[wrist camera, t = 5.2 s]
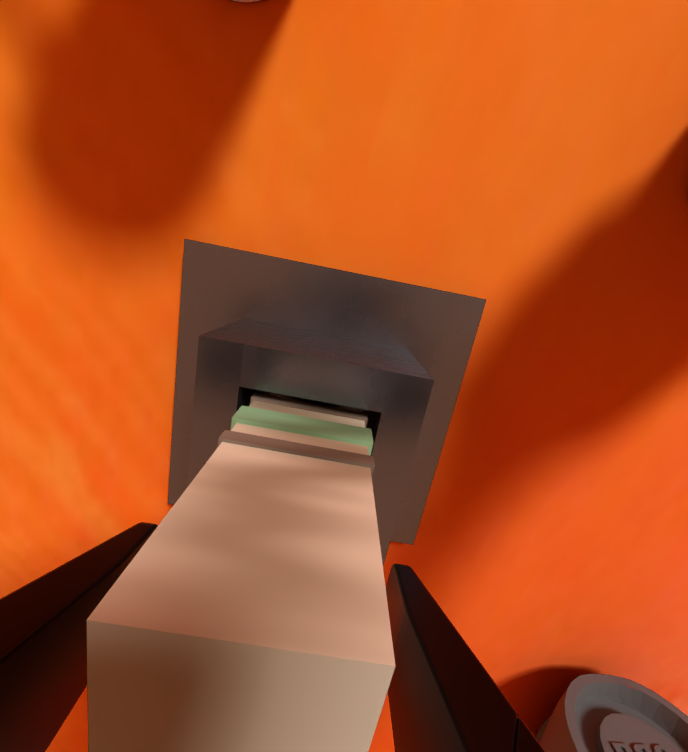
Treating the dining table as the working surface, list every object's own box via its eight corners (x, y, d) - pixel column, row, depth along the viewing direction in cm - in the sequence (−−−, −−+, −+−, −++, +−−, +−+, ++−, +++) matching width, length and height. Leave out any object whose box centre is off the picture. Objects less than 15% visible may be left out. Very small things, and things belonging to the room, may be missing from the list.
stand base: (480, 298, 17) (568, 312, 10) (410, 534, 21) (442, 659, 14) (192, 240, 16) (82, 213, 9) (174, 495, 20) (87, 605, 13)
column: (368, 410, 13) (409, 660, 5) (346, 507, 14) (346, 850, 6) (254, 390, 13) (74, 609, 4) (241, 489, 14) (78, 817, 5)
